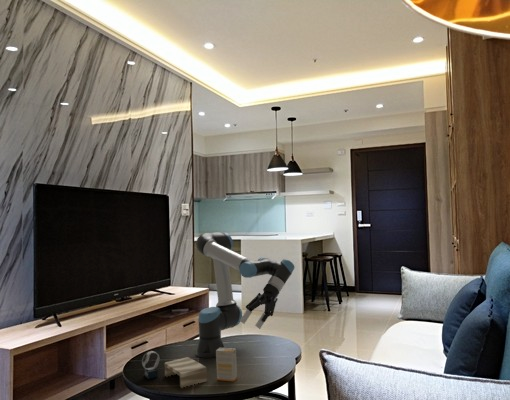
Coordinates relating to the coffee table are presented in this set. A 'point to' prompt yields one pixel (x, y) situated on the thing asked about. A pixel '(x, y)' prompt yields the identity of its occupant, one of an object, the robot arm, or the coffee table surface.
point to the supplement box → (226, 364)
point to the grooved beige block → (186, 371)
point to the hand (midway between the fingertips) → (249, 324)
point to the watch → (150, 371)
